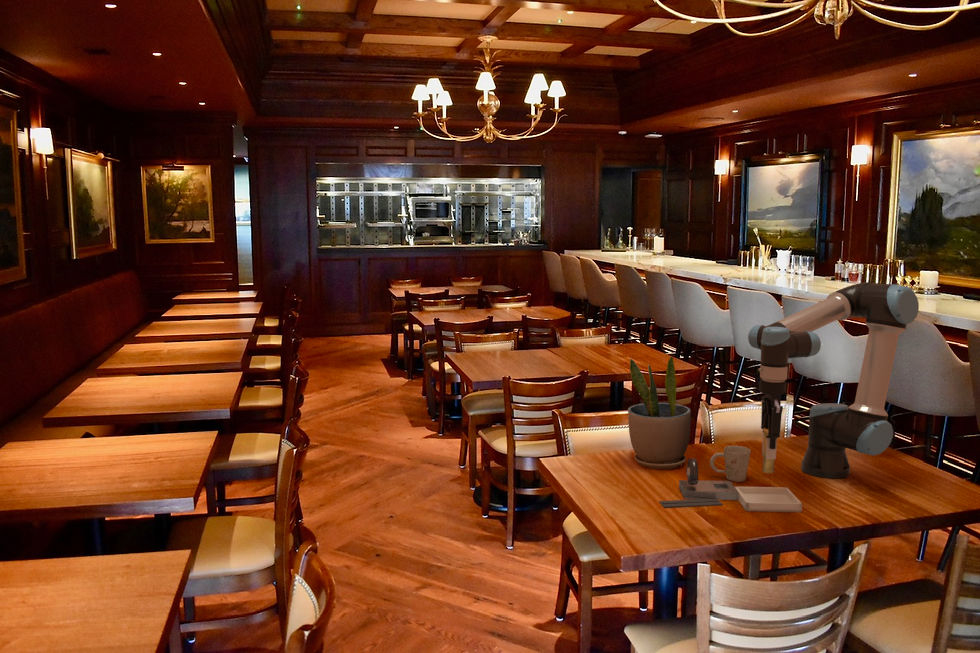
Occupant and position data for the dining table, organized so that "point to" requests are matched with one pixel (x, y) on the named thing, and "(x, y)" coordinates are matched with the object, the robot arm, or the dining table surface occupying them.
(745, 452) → the mug
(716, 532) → the dining table surface
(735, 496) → the block
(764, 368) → the robot arm
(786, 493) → the tray
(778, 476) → the dining table surface
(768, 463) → the pin
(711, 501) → the pair of grey strips
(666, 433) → the potted plant
